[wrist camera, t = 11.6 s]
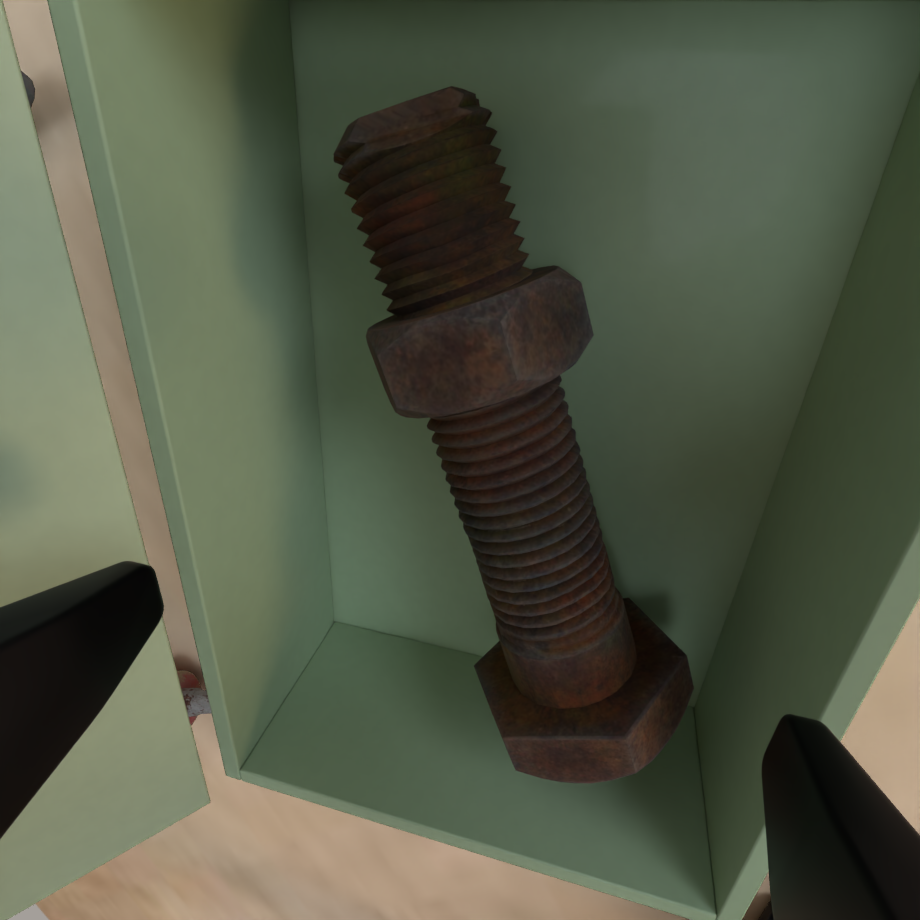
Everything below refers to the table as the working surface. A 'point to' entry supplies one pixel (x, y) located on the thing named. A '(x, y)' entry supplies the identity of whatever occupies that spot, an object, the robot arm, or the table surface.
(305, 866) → the table surface
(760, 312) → the carton
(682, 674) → the bolt
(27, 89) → the walkie-talkie
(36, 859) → the flap
